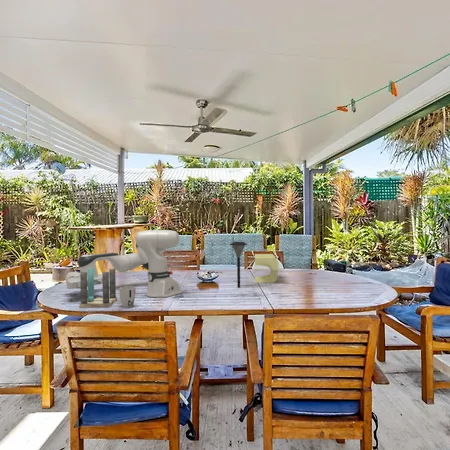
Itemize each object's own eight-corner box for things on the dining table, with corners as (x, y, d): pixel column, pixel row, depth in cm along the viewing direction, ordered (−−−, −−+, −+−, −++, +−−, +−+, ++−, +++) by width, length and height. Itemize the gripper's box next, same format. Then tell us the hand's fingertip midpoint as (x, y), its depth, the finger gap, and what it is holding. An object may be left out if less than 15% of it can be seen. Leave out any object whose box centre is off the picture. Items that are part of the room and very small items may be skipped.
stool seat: (89, 300, 196) (88, 268, 195) (117, 300, 196) (116, 268, 195) (78, 307, 180) (77, 273, 180) (108, 307, 180) (107, 272, 180)
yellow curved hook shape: (278, 284, 237) (278, 258, 237) (255, 284, 238) (254, 258, 238) (275, 277, 267) (275, 254, 267) (255, 277, 268) (254, 254, 268)
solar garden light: (245, 289, 221) (244, 242, 220) (227, 288, 225) (226, 242, 224) (250, 286, 232) (249, 241, 232) (232, 285, 236) (232, 241, 236)
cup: (129, 308, 177) (129, 289, 177) (116, 307, 180) (116, 288, 180) (138, 305, 184) (138, 286, 184) (126, 303, 187) (126, 285, 187)
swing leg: (93, 300, 185) (93, 270, 184) (87, 301, 183) (86, 271, 183) (94, 296, 195) (93, 267, 195) (88, 296, 194) (87, 268, 194)
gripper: (98, 283, 211) (109, 286, 202) (64, 289, 197) (74, 292, 187) (98, 273, 211) (109, 275, 202) (63, 278, 197) (73, 280, 187)
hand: (92, 284), depth 194 cm, fingers open, 8 cm apart
